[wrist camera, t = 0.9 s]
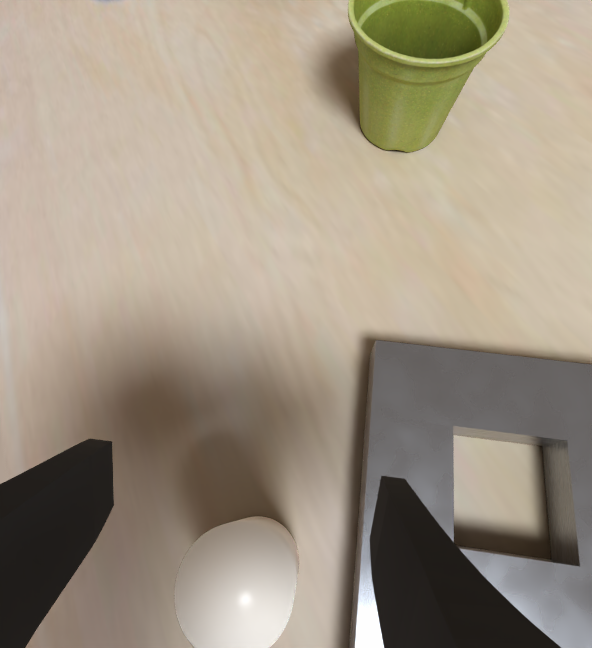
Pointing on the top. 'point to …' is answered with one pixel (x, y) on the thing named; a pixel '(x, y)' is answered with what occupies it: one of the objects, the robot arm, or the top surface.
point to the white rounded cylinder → (237, 585)
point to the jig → (495, 424)
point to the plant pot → (418, 62)
